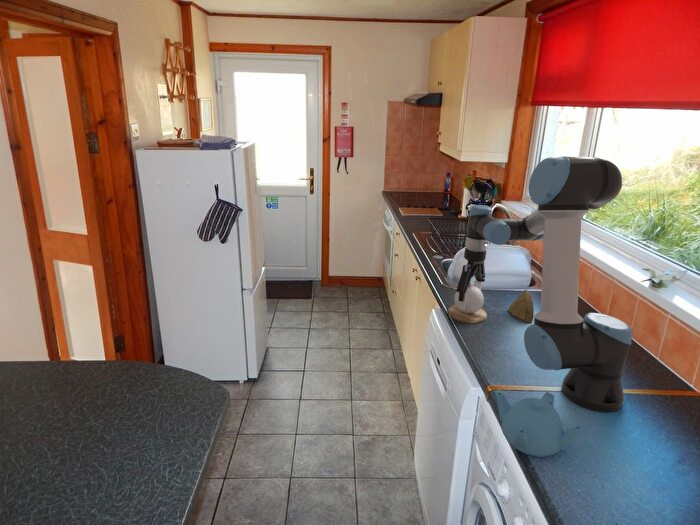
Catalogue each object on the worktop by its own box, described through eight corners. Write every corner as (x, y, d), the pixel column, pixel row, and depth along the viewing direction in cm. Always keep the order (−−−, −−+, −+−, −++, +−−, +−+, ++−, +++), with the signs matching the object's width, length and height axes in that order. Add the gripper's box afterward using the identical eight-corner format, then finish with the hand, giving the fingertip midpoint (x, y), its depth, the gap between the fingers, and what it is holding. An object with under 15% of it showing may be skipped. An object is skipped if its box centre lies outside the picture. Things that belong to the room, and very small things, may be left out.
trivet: (477, 326, 165) (477, 323, 165) (441, 315, 173) (442, 312, 173) (492, 314, 176) (492, 310, 175) (458, 303, 184) (458, 300, 183)
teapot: (578, 463, 104) (588, 423, 100) (513, 464, 103) (521, 424, 99) (547, 419, 118) (555, 382, 114) (489, 419, 117) (495, 383, 113)
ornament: (448, 308, 176) (451, 279, 172) (468, 303, 180) (472, 275, 176) (465, 319, 167) (469, 289, 163) (487, 314, 172) (491, 284, 168)
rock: (541, 319, 167) (538, 305, 176) (530, 301, 165) (527, 287, 174) (514, 331, 172) (512, 316, 181) (502, 313, 170) (501, 299, 179)
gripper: (471, 259, 154) (463, 316, 161) (498, 243, 173) (491, 295, 180) (450, 254, 158) (444, 310, 165) (479, 239, 177) (472, 290, 184)
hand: (468, 302), depth 173 cm, fingers open, 13 cm apart
